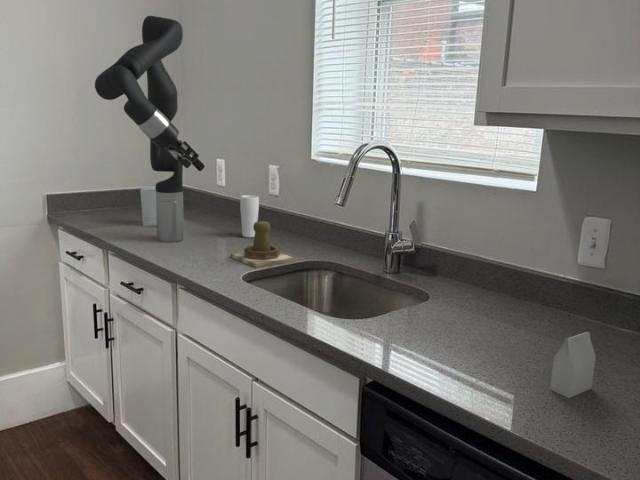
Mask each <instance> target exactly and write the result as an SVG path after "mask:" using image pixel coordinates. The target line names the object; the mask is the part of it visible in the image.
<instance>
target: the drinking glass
mask: <svg viewBox="0 0 640 480" xmlns="http://www.w3.org/2000/svg"><path fill="white" fill-rule="evenodd" d="M239 203H240V205H239V209H240V219H241V234H242V237H243V238H253V239H254V236H255V231H254V229H253V226H254V223H255V222H258V220H259V209H260V197H259V196H258V195H252V194H246V195H244V194H243V195H241V196H240V202H239Z"/></svg>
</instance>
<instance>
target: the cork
mask: <svg viewBox="0 0 640 480" xmlns="http://www.w3.org/2000/svg"><path fill="white" fill-rule="evenodd" d="M253 229H254V231H255V236H254V237H253V244H252V245H253V251H260V252H267V251H270V245H271V244H270V237H269V236H270V235H269V232H270V231H271V230H270V229H271V224H270V223H269V222H268V221H264V220H259V221H258V222H255V223H254V226H253Z"/></svg>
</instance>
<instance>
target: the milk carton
mask: <svg viewBox="0 0 640 480" xmlns="http://www.w3.org/2000/svg"><path fill="white" fill-rule="evenodd" d="M590 333H591V332H590V331H585V332H582V333H579V334H576V335H574V336H569V337H567V338H565V339H564V341H563V344H562V345H561V347H560V349H559V350H558V351H557V353H556V354H555V356H554V357H553V361H552V362H553V363H552V371H551V376H550V385H549V390H550V391H552V392H555V393H557V394H559V395H561V396H562V397H563V396H564V397H566V398H567V399H570V398H573V397H575V396H577V395H579V394H581V393H584V392H587V391H590V390H591V389H592V385H593V379H594V371H595V366H596V358H597V357H596V354H595V349H594V346H593V344H592V340H591V334H590Z"/></svg>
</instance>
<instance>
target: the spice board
mask: <svg viewBox="0 0 640 480" xmlns="http://www.w3.org/2000/svg"><path fill="white" fill-rule="evenodd" d="M230 257H231V258H232V259H234V260H237V261H240V262H241V263H244V264H246V265H248V266H251V267H253V268H255V269H256V268H263V267H270V266H276V265H282V264H288V263H294V262H295V257H292V256H290V255H287V254H285V253H282V252H281V248H280V247H278V246H276V245H272V244H270V251H267V252H260V251H253V244H251V245H248V246H246V247H245V248H244V251H239V252H231V253H230Z"/></svg>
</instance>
